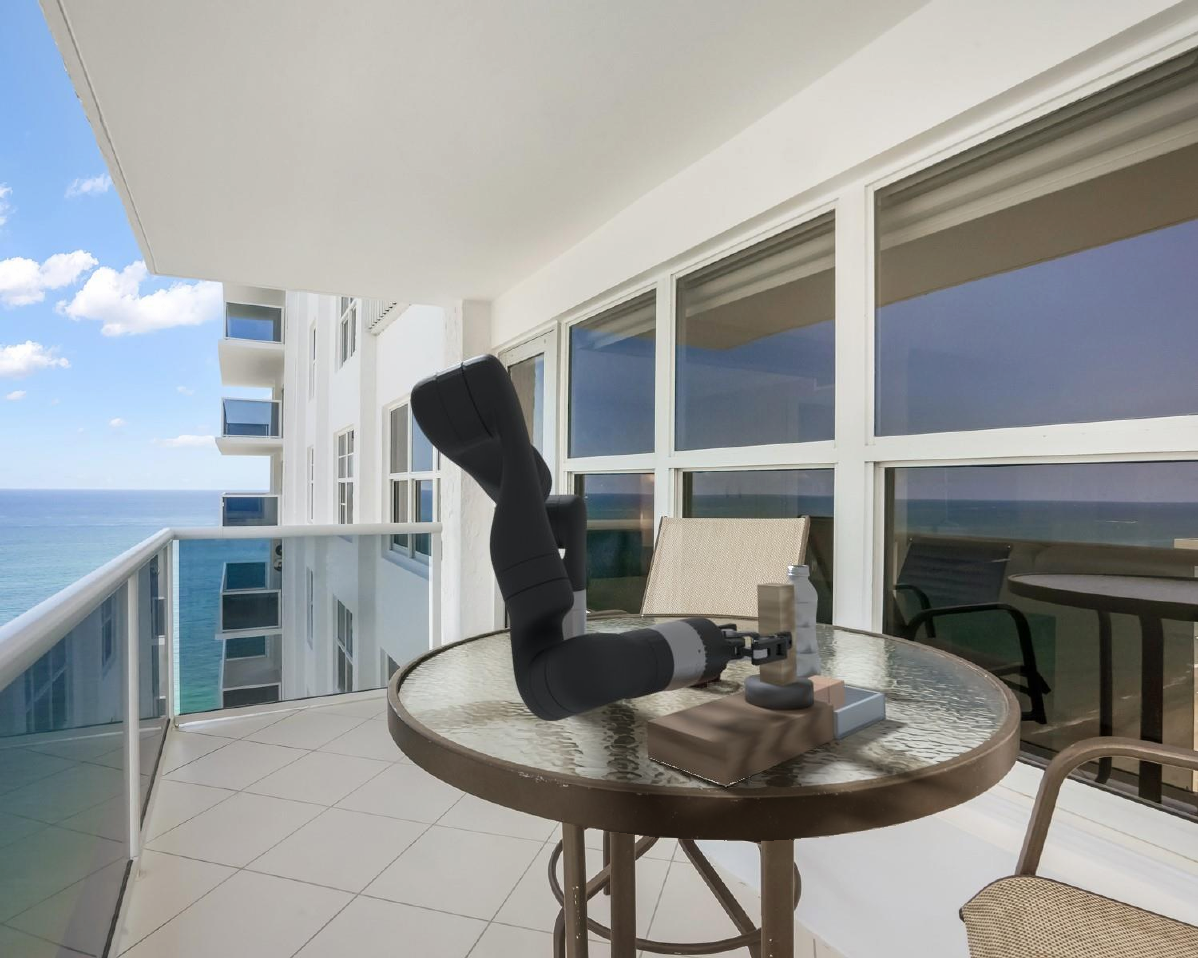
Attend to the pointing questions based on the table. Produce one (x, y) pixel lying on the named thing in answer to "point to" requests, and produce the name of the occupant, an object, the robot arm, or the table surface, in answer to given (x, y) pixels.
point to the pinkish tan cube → (821, 693)
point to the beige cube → (832, 690)
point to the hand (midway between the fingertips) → (761, 635)
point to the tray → (858, 711)
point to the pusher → (779, 678)
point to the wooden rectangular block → (736, 737)
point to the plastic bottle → (805, 621)
